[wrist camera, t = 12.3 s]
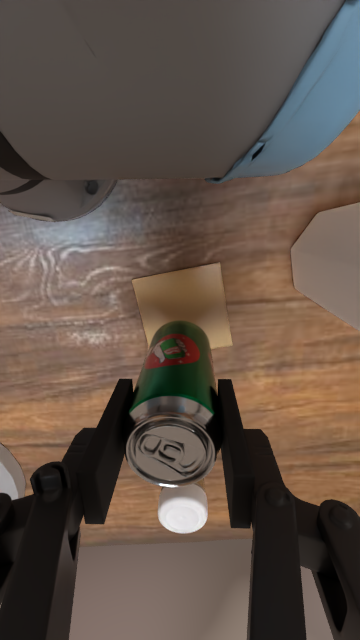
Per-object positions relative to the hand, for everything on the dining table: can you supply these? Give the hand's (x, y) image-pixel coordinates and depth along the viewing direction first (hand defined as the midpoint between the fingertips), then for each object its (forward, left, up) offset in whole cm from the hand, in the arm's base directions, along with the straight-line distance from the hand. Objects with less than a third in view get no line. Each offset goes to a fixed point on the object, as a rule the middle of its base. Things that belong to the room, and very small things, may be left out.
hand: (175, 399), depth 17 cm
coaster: (0, 0, -17) cm, 17 cm away
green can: (0, 0, -8) cm, 8 cm away
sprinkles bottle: (+15, 0, -17) cm, 23 cm away
